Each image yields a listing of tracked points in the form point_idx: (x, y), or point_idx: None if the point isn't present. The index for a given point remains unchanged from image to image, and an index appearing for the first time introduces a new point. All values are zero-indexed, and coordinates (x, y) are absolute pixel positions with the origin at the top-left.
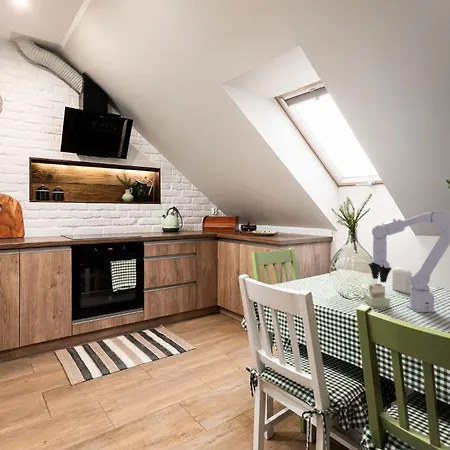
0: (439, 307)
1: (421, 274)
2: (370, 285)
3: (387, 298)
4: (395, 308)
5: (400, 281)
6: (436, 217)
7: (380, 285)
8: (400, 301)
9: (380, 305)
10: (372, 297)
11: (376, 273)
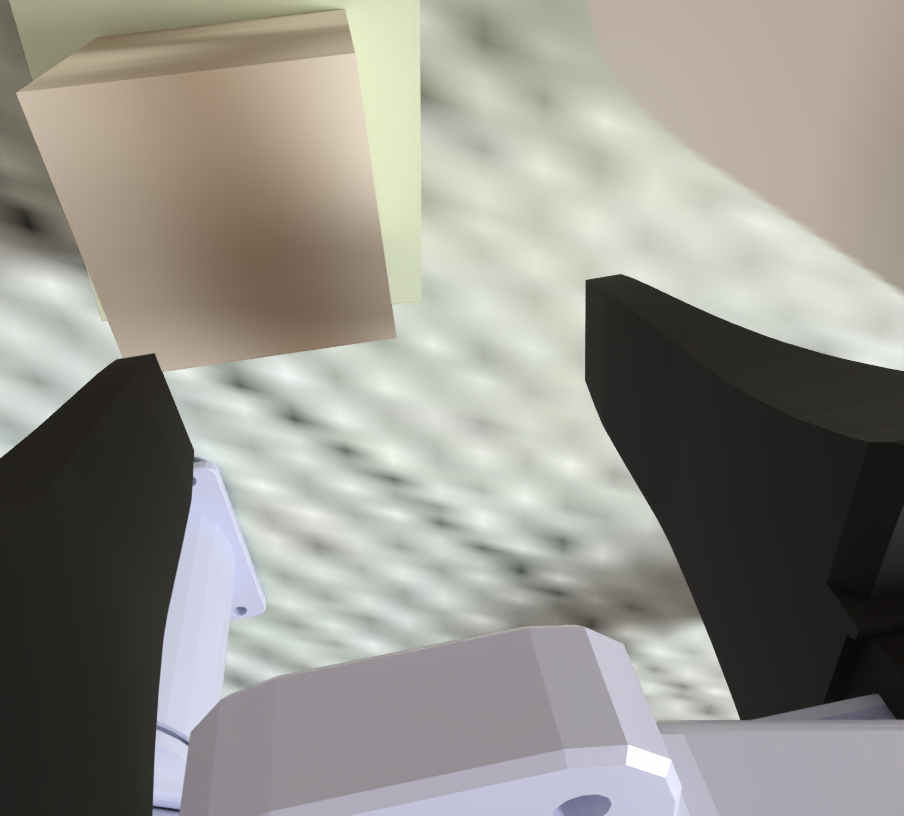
0: (234, 692)
1: None
2: (266, 58)
3: (93, 286)
4: (52, 312)
5: None
6: None
7: (210, 304)
8: (429, 454)
9: None
10: (93, 4)
11: (647, 434)
